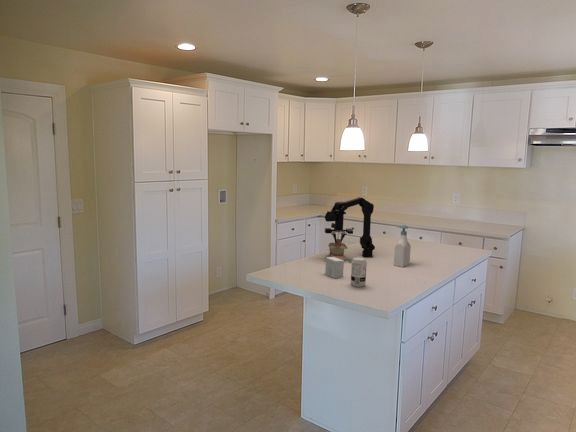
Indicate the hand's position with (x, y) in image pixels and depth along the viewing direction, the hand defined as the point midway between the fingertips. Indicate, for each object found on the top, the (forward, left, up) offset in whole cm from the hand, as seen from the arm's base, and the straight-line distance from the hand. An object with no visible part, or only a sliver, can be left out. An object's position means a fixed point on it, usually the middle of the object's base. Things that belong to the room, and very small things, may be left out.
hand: (338, 243), depth 288 cm
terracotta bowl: (0, 0, -13) cm, 13 cm away
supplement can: (-4, +53, -13) cm, 55 cm away
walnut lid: (0, 0, -2) cm, 2 cm away
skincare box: (+7, +35, -13) cm, 38 cm away
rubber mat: (-13, 0, -13) cm, 18 cm away
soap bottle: (-42, +6, -13) cm, 44 cm away
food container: (-1, -14, -13) cm, 19 cm away
